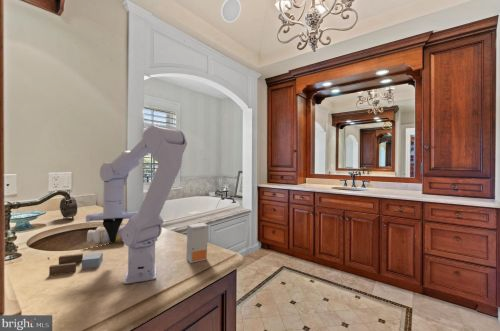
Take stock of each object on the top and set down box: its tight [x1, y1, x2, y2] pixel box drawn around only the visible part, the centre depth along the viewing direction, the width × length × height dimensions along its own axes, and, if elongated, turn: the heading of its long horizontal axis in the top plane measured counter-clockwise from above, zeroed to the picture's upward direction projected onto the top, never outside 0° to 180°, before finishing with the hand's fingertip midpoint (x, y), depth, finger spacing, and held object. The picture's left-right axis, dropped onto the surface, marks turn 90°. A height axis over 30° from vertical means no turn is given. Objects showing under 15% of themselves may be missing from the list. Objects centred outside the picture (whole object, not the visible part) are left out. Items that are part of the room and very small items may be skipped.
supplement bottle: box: [86, 224, 125, 245], centre depth 91 cm, size 7×7×13 cm
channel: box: [48, 253, 84, 277], centre depth 69 cm, size 8×6×2 cm
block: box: [81, 252, 104, 270], centre depth 72 cm, size 4×4×3 cm
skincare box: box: [186, 222, 209, 264], centre depth 78 cm, size 6×4×12 cm
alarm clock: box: [59, 189, 78, 221], centre depth 124 cm, size 11×5×16 cm, turn 58°
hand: (112, 241), depth 74 cm, fingers closed
